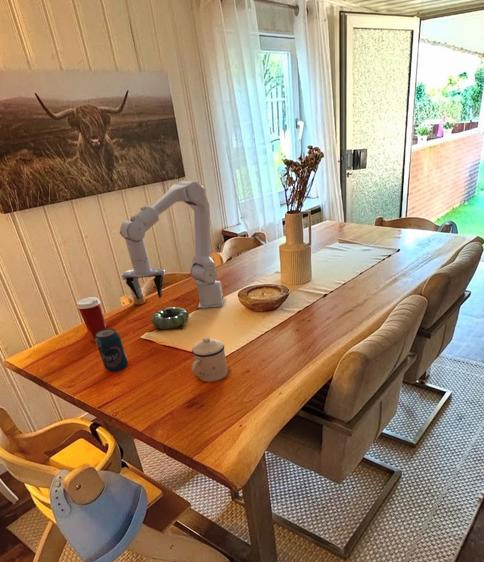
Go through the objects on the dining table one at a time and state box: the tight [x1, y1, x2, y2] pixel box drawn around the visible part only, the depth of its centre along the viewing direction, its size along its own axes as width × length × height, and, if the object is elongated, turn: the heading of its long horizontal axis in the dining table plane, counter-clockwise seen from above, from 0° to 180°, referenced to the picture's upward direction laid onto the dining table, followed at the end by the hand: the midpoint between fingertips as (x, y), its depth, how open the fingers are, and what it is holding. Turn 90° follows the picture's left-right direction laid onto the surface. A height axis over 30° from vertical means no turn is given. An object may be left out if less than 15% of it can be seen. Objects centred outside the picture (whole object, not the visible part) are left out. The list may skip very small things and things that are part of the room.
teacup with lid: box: [190, 336, 229, 383], centre depth 121 cm, size 12×9×12 cm
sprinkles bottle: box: [125, 268, 146, 306], centre depth 175 cm, size 5×5×13 cm
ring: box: [150, 306, 190, 329], centre depth 155 cm, size 13×13×4 cm
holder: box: [156, 306, 186, 332], centre depth 155 cm, size 9×9×6 cm
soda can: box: [95, 327, 129, 373], centre depth 129 cm, size 7×7×12 cm
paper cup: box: [76, 296, 108, 343], centre depth 148 cm, size 8×8×14 cm
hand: (149, 297), depth 153 cm, fingers open, 7 cm apart
